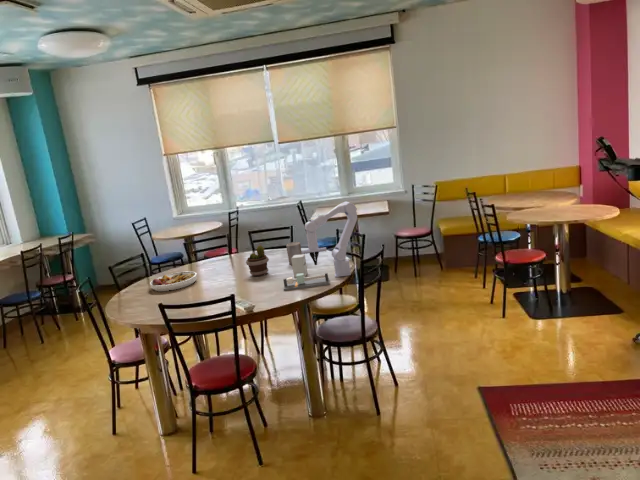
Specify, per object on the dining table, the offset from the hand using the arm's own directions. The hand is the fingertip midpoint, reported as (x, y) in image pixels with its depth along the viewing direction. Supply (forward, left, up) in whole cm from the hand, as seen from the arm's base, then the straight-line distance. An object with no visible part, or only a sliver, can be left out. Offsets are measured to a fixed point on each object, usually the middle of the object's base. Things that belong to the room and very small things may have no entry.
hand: (315, 264), depth 302 cm
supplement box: (+11, -14, -10) cm, 20 cm away
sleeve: (+10, +8, -7) cm, 14 cm away
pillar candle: (+16, -47, -10) cm, 51 cm away
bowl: (+96, -32, -10) cm, 102 cm away
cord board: (+7, +8, -9) cm, 14 cm away
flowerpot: (+39, -30, -10) cm, 50 cm away
